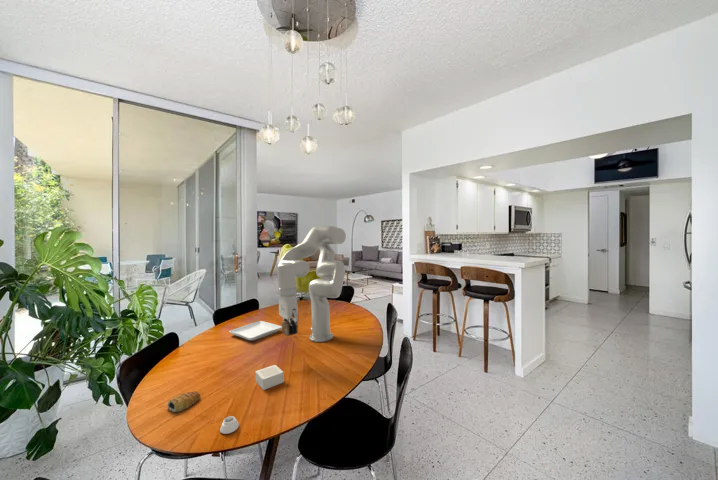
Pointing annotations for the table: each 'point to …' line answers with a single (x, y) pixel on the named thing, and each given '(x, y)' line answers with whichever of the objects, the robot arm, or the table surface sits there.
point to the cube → (287, 327)
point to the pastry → (183, 401)
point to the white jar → (229, 425)
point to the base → (269, 377)
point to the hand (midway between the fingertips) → (290, 331)
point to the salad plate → (255, 330)
